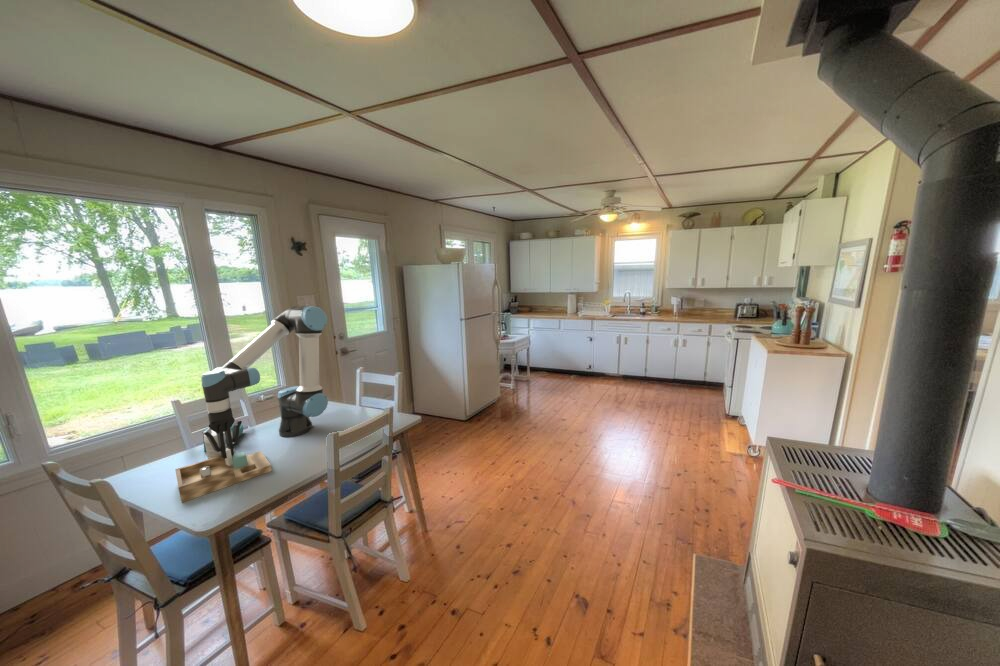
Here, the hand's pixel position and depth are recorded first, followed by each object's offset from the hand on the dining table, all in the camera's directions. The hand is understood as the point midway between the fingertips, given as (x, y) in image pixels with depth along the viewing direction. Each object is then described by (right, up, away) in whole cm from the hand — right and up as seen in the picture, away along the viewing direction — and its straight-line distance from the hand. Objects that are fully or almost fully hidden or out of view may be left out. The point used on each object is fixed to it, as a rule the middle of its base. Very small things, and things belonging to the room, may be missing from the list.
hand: (229, 464), depth 146 cm
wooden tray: (0, -4, -2) cm, 5 cm away
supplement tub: (-9, -3, +8) cm, 13 cm away
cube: (+3, -1, +1) cm, 4 cm away
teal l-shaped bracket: (-24, 0, +29) cm, 38 cm away
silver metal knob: (0, -3, -11) cm, 11 cm away
